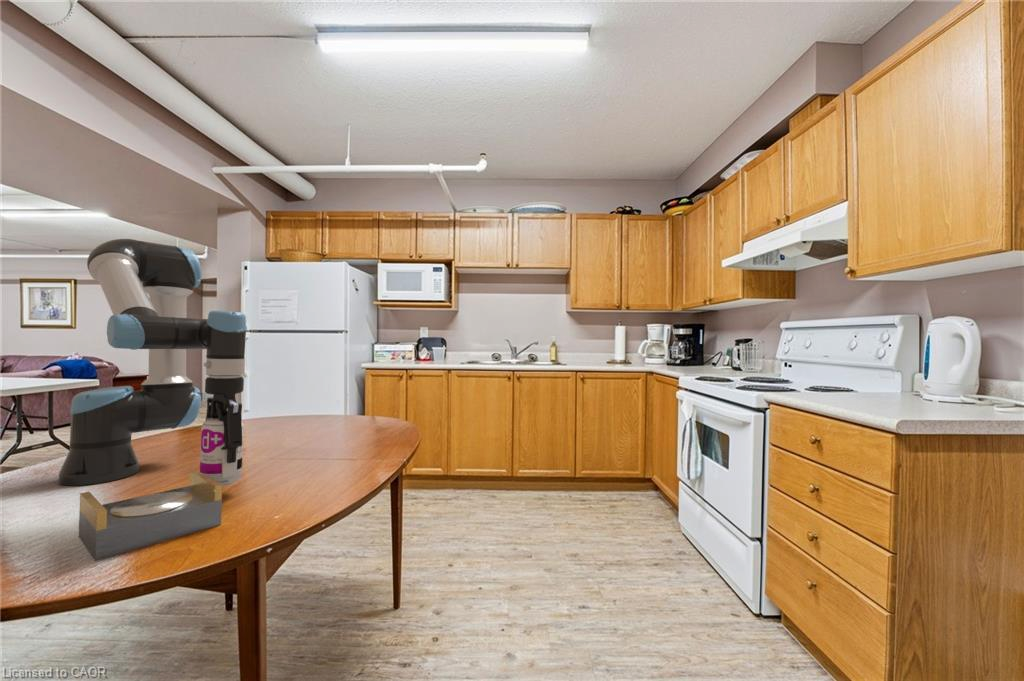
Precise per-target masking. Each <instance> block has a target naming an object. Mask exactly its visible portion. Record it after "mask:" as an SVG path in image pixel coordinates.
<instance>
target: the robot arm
mask: <svg viewBox="0 0 1024 681" xmlns="http://www.w3.org/2000/svg"><path fill="white" fill-rule="evenodd" d="M88 255H89V256H88V258H87V263H86V266H87V270H88V272H89V275H90V276H91V277H92V279H93V280H95V281H96V282H97V283H99V284H100V285H99V286H100V287H101V289H102V292H103V294H104V297H105V299H106V302H107V303H108V306H109V308H110V310H111V312H112V315H111V316H110V317H109V318H108V321H107V326H106V336H107V343H108V345H109V347H112V348H114V349H125V350H126V349H127V350H148V375H147V376H148V377H147V379H145V380H144V381H143V382H141V384H140V385H141V386H140V388H141V389H140V390H134V389H135V388H134V387H133V385H132V386H131V385H120V386H110V387H109V386H108V387H101V388H95V389H90V390H86V391H82V392H79V393H76V394H75V395H74V396H73V397H72V399H71V407H70V410H69V415H70V429H69V430H70V431H69V434H70V436H69V449H68V450H69V451H68V454H67V456H66V458H65V460H64V462H63V464H62V467H61V468H60V470H59V472H58V481H57V483H58V484H60V485H62V486H85V485H86V486H87V485H95V484H101V483H109V482H113V481H117V480H121V479H125V478H128V477H131V476H133V475H135V474H137V473H139V471H140V464H139V459H138V458H137V455H136V453H135V451H134V448H133V445H132V434H134V433H136V434H137V433H143V432H150V431H151V432H152V431H160V430H170V429H171V430H172V429H173V430H175V429H177V428H181V427H182V428H183V427H187V426H190V425H191V424H193V423H194V422H195V421H196V419H197V417H198V415H199V413H200V409H201V405H202V404H201V403H202V395H201V391H200V389H199V388H198V387H196V386H193V383H194V382H193V380H191V379H190V378H189V377H188V376H187V350H206V354H205V358H206V359H205V360H206V361H205V362H204V363H203V366H204V367H205V375H207V377H206V378H205V379H204V380H205V383H204V392H205V394H208V395H212V396H213V397H212V396H210V397H207V398H206V402H207V403H206V404H207V406H206V407H207V408H206V414H205V415H206V416H205V419H207V418H211V417H212V418H213V419H214V418H219V420H220V421H223V425H224V445H225V447H222V448H221V450H223V453H222V478H225V477H230V476H234V475H236V467H237V448H238V447H239V446H242V422H243V421H241V420H242V411H243V409H242V408H243V404H242V403H241V402H237V400H236V395H237V394H240V393H242V392H243V391H244V384H245V382H244V381H245V378H244V377H243V375H244V374H245V366H246V365H245V364H246V358H245V355H246V337H247V336H246V335H247V328H248V326H247V319H246V318H247V316H246V315H245V313H243V312H240V311H231V310H229V311H228V310H227V311H226V310H211V311H209V312H208V315H207V318H194V317H193V318H191V317H187V315H188V314H187V312H188V311H187V310H188V309H187V308H188V306H187V304H188V303H187V301H188V299H187V298H188V297H189V296H191V295H192V294H193V293H194V289H195V288H198V287H199V286H200V284H201V279H202V267H201V262H200V260H199V257H198V256H197V254H196V253H195V251H193V250H192V249H188V248H184V247H180V246H176V245H168V244H162V243H155V242H149V241H142V240H137V239H132V238H119V239H112V240H108V241H106V242H103V243H101V244H99V245H97V246H96V247H95V248H94V249H93V250H92V251H91V252H90V253H89V254H88Z"/></svg>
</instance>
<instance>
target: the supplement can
mask: <svg viewBox="0 0 1024 681" xmlns="http://www.w3.org/2000/svg"><path fill="white" fill-rule="evenodd" d="M241 421H242V419H241ZM244 426H245V423H244V422H243V421H242V446H239V447H238V448H237V467H236V475H234V476H230V477H225V478H222V453H223V450H221V448H222V447H225V445H224V425H223V421H220V420H219V418H214V419H213V418H212V417H211V418H207V419H206V418H205V419H204V422H203V423H202V425H201V428H200V429H201V431H200V432H201V434H200V453H199V454H200V456H199V457H200V460H199V472H200V473H202V474H204V475H205V476H207V477H209V478H211V479H213V480H215V481H217V482H219V483H220V484H222V487H223V486H229V485H233V484H234V483H236V482H238V481H239V480H240V479H241V478H242V477H243V476H242V475H243V473H242V472H243V455H244V454H243V452H244V451H243V449H244V430H245V429H244Z"/></svg>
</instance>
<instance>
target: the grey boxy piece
mask: <svg viewBox="0 0 1024 681" xmlns="http://www.w3.org/2000/svg"><path fill="white" fill-rule="evenodd" d="M222 496H223V486H222V484H220V483H219V482H217V481H215V480H213V479H211V478H209V477H207V476H205V475H204V474H202V473H200V471H198V470H195V471H190V472H189V485H188V486H184V487H179V488H174V489H169V490H165V491H164V490H163V491H159V492H154V493H151V494H146V495H142V496H136V497H132V498H127V499H123V500H117V501H114V502H108V503H104V504H101V502H100V500H98V499H97V498H96V497H95V496H94V495H93V494H92V492H90V491H85V492H81V493H79V512H78V513H79V516H78V538H79V539H80V541H81V543H82V544H83V545H84V547H85V548H86V549H87V551H88V553H89V554H90V556H91V557H92V558H93V560H94V561H95V562H98V561H102V560H104V559H108V558H111V557H115V556H118V555H121V554H124V553H128V552H131V551H136V550H138V549H142V548H145V547H149V546H151V545H155V544H159V543H162V542H166V541H170V540H172V539H175V538H179V537H183V536H186V535H190V534H194V533H196V532H199V531H203V530H207V529H210V528H214V527H218V526H221V525H222V505H223V504H222V503H223V501H222V500H223V497H222ZM97 560H98V561H97Z"/></svg>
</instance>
